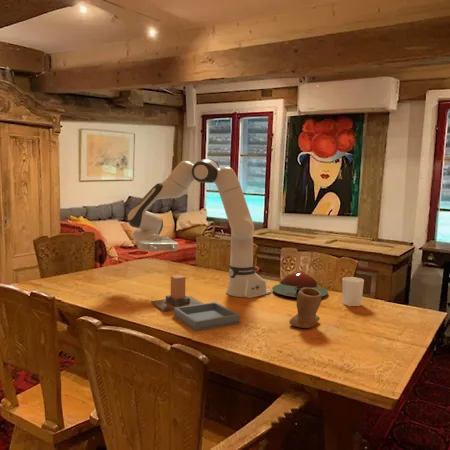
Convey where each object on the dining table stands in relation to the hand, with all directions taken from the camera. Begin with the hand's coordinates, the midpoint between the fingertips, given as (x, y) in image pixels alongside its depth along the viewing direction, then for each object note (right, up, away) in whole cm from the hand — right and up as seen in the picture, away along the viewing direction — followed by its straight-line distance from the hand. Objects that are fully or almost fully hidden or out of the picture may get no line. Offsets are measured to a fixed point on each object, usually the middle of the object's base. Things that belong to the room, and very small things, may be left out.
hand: (165, 249), depth 220 cm
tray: (+20, -27, -28) cm, 44 cm away
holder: (+7, -25, -8) cm, 27 cm away
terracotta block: (+7, -24, -8) cm, 26 cm away
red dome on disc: (+66, -23, +17) cm, 72 cm away
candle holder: (+88, -26, -1) cm, 91 cm away
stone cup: (+61, -29, -31) cm, 74 cm away
